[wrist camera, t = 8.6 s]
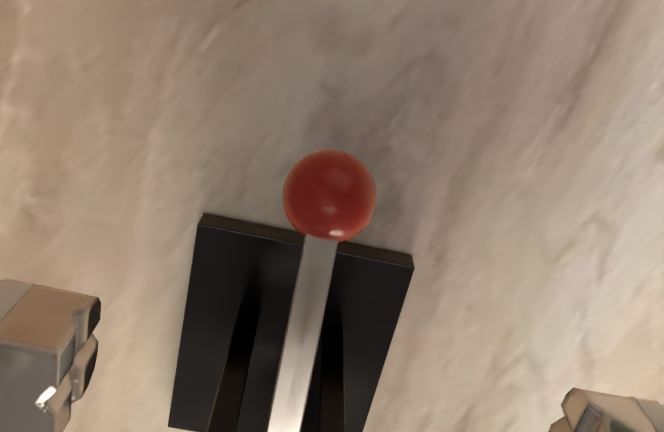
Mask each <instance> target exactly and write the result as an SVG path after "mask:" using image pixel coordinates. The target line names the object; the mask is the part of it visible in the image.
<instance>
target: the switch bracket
mask: <svg viewBox="0 0 664 432" xmlns="http://www.w3.org/2000/svg"><path fill="white" fill-rule="evenodd" d="M303 241H304V236H303V235H302V234H301V233H298V232H293V231H288V230H283V229H278V228H274V227H269V226H264V225H259V224H254V223H249V222H244V221H239V220H234V219H229V218H224V217H219V216H214V215H210V214H205V213H204V214H202V216H201V219H200V221H199V223H198V226H197V232H196V239H195V246H194V253H193V259H192V266H191V273H190V280H189V287H188V293H187V300H186V307H185V314H184V320H183V327H182V334H181V341H180V347H179V354H178V361H177V368H176V374H175V381H174V388H173V395H172V401H171V408H170V415H169V422H168V427H172V428H177V429H183V430H189V431H195V432H265V428H266V423H267V418H268V413H269V408H270V403H271V398H272V394H273V389H274V384H275V379H276V374H277V369H278V364H279V359H280V354H281V349H282V344H283V339H284V334H285V329H286V324H287V320H288V315H289V310H290V305H291V300H292V295H293V290H294V285H295V280H296V275H297V270H298V265H299V260H300V255H301V250H302V246H303ZM414 268H415V267H414V263H413V259H412V256H411V255H406V254H402V253H397V252H392V251H387V250H382V249H377V248H372V247H367V246H362V245H357V244H352V243H347V242H339V243H338V245H337V250H336V255H335V260H334V265H333V270H332V276H331V281H330V286H329V291H328V296H327V301H326V306H325V311H324V316H323V321H322V326H321V331H320V336H319V341H318V346H317V351H316V356H315V361H314V366H313V371H312V376H311V381H310V386H309V391H308V396H307V402H306V407H305V412H304V417H303V422H302V427H301V432H363V429H364V425H365V422H366V419H367V416H368V413H369V410H370V407H371V403H372V400H373V397H374V394H375V391H376V388H377V385H378V381H379V378H380V375H381V372H382V369H383V366H384V363H385V359H386V356H387V353H388V350H389V347H390V344H391V341H392V337H393V334H394V331H395V328H396V325H397V322H398V319H399V315H400V312H401V309H402V306H403V303H404V300H405V297H406V293H407V290H408V287H409V284H410V281H411V278H412V275H413V271H414Z"/></svg>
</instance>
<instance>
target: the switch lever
mask: <svg viewBox="0 0 664 432" xmlns="http://www.w3.org/2000/svg"><path fill="white" fill-rule="evenodd" d="M283 206H284V210H285V213H286V215H287V217H288V219H289V221H290V223H291V224H292V225H293V227H294V228H295V229H296V230H297V231H298V232H300V233H301V234H302V235H303V236H304V241H303V246H302V250H301V255H300V260H299V265H298V270H297V275H296V280H295V285H294V290H293V295H292V300H291V305H290V310H289V315H288V320H287V324H286V329H285V334H284V339H283V344H282V349H281V354H280V359H279V364H278V369H277V374H276V379H275V384H274V389H273V394H272V398H271V403H270V408H269V413H268V418H267V423H266V428H265V432H301V427H302V422H303V417H304V412H305V407H306V402H307V396H308V391H309V386H310V381H311V376H312V371H313V366H314V361H315V356H316V351H317V346H318V341H319V336H320V331H321V326H322V321H323V316H324V311H325V306H326V301H327V296H328V291H329V286H330V281H331V276H332V270H333V265H334V260H335V255H336V250H337V245H338V243H339V242H343V241H346V240H348V239H350V238H352V237H354V236H355V235H357V234H358V233H359V232H361V231H362V230H363V229H364V228H365V226H366V225H367V224H368V223H369V221H370V219H371V217H372V215H373V213H374V209H375V206H376V188H375V184H374V181H373V178H372V176H371V174H370V172H369V171H368V169H367V168H366V167H365V165H364V164H363V163H362V162H361V161H359V160H358V159H357V158H355V157H354V156H352V155H350V154H348V153H346V152H342V151H339V150H320V151H316V152H313V153H311V154H309V155H307V156H305V157H303V158H302V159H301V160H299V161H298V162H297V163H296V164H295V165H294V166H293V168H292V169H291V170H290V172H289V174H288V175H287V178H286V180H285V183H284V187H283Z"/></svg>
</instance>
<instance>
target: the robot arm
mask: <svg viewBox="0 0 664 432" xmlns="http://www.w3.org/2000/svg"><path fill="white" fill-rule="evenodd" d="M100 311H101V302H100V300H99V298H98V297H95V296H90V295H85V294H81V293H76V292H71V291H66V290H62V289H57V288H52V287H47V286H43V285H35V284H33V283H28V282H22V281H17V280H12V279H3V280H0V432H63V431H64V429H65V427H66V425H67V423H68V422H69V420H70V415H71V404H72V403H74V402H76V401H77V400H79V399H81V398H82V396H83V394H84V393H85V391H86V389H87V387H88V385H89V382H90V379H91V376H92V373H93V371H94V367H95V362H96V357H97V351H98V341H97V339H96V338H95V336H94V335H93V333H92V332H93V330H94V329H95V327H96V325H97V324H98V322H99V320H100ZM561 407H562V410H563V413H564V417H562V418H561V419H559V420H558V421H556V422H554V423H553V424H551V427H550V429H549V431H548V432H664V406H663V405H662V404H660V403H659V402H657V401H654V400H647V399H641V398H635V397H624V396H618V395H613V394H607V393H601V392H596V391H590V390H584V389H579V388H572V389H571V390H570V391H569V392H568V393H567V394H566V396H565V398H564V400H563V402H562V404H561Z"/></svg>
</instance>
